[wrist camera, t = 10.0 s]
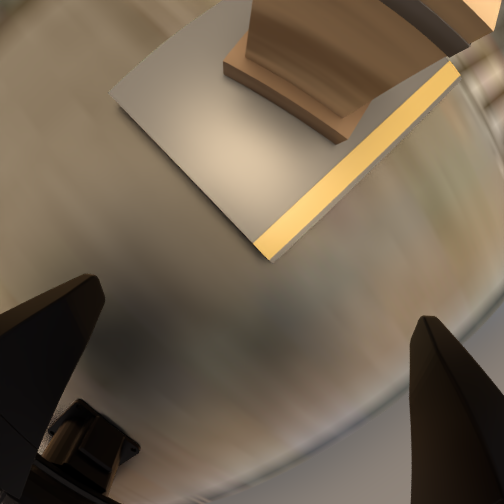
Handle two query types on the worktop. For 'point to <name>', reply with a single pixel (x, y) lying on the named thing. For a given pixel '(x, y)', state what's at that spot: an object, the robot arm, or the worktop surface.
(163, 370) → the worktop surface
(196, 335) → the worktop surface
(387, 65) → the tan piece
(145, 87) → the plate
